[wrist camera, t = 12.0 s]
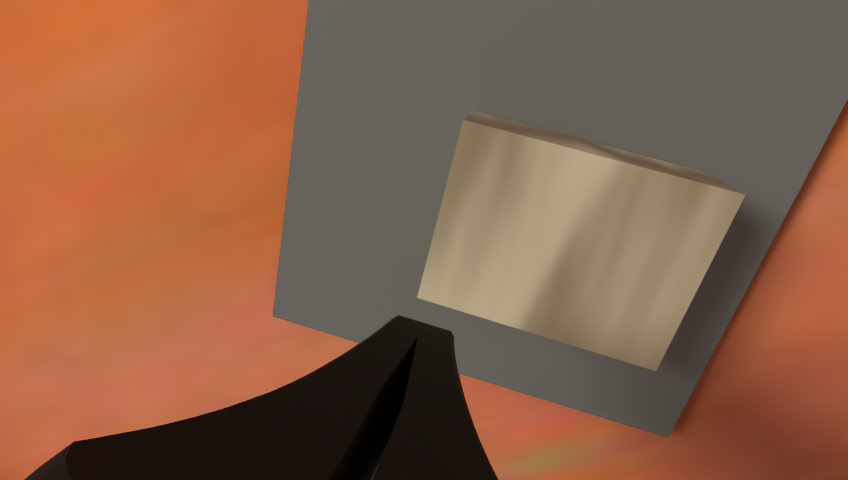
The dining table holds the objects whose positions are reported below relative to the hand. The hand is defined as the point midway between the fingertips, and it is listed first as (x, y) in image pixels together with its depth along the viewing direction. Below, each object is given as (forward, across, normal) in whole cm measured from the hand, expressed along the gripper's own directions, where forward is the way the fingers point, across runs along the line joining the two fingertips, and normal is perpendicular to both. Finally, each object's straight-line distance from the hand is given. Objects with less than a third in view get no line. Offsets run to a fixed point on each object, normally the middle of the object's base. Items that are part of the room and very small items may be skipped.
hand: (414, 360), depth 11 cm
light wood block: (+7, +1, -2) cm, 7 cm away
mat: (+9, -2, -4) cm, 10 cm away
